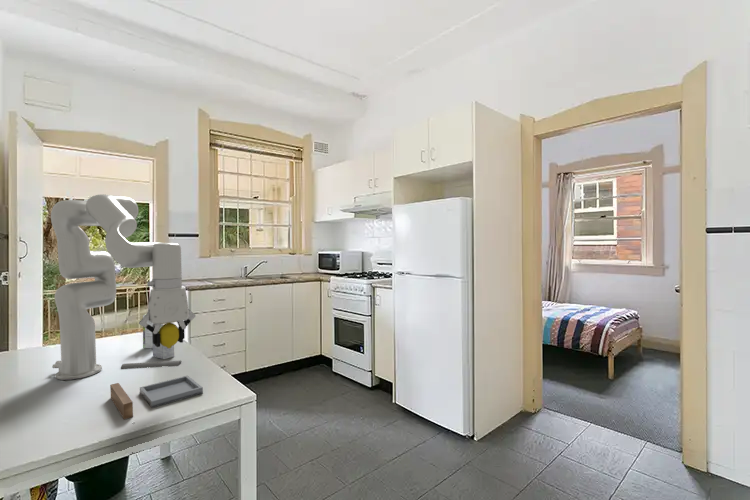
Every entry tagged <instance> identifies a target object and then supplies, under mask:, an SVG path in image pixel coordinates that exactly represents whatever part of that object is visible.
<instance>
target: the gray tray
mask: <svg viewBox="0 0 750 500" xmlns="http://www.w3.org/2000/svg"><path fill="white" fill-rule="evenodd" d="M139 394H140V396H141V397H142V398H143V399H144V400H145V402H146V403H148V405H149V406H150V407H151V409H153V408H157V407H160V406H163V405H167V404H171V403H173V402H177V401H181V400H184V399H185V400H186V399H188V398H191V397H195V396H198V395H201V394H204V390H203V386H202V385H201V384H200V383H198V382H197V381H195V380H194V379H192V378H191V376H189V375H184V376H180V377H176V378H175V377H174V378H171V379H167V380H165V381H159V382H156V383H151V384H147V385H145V386H140V387H139Z"/></svg>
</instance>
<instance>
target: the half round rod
mask: <svg viewBox="0 0 750 500" xmlns="http://www.w3.org/2000/svg"><path fill="white" fill-rule="evenodd" d="M181 363H182V360H181V359H180V360H165V361H164V360H163V361H150V362H132V363H131V362H129V363H122V365H121V366H120V369H121V370H130V369H145V368H146V369H148V368H149V367H150V368H163V367H162V366H168V367H178V366H179V365H180V364H181ZM147 367H148V368H147Z"/></svg>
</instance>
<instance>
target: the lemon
mask: <svg viewBox="0 0 750 500" xmlns="http://www.w3.org/2000/svg"><path fill="white" fill-rule="evenodd" d="M178 327H179V326H177V325H176V324H175V323H174V322H172V323H165V324H163V326H162V327H161V328H160V330H159V333H160V344H161V345H163V346H165V347H167V348H171V347H172V346H173V345H174V346H175V345H176V344H177V343H178V342H179V341H178V339H179V330H178Z"/></svg>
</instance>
